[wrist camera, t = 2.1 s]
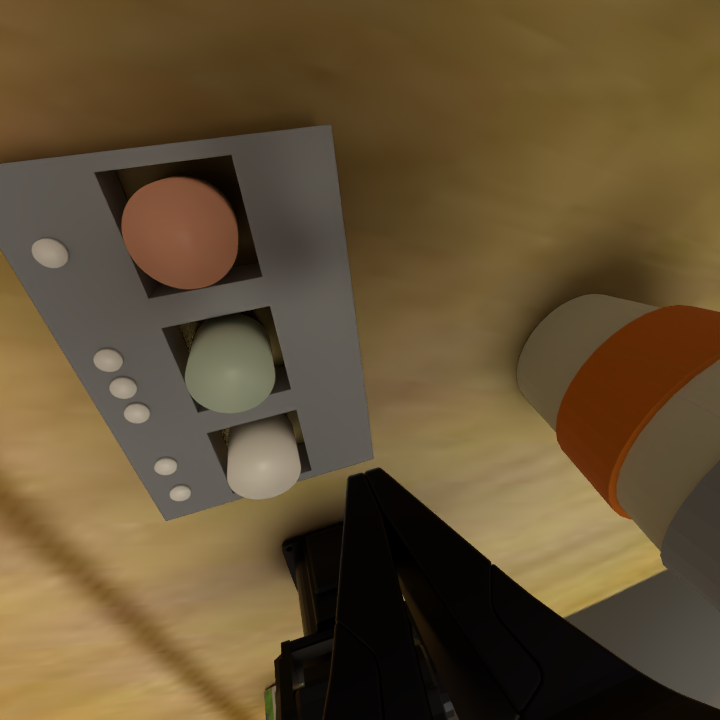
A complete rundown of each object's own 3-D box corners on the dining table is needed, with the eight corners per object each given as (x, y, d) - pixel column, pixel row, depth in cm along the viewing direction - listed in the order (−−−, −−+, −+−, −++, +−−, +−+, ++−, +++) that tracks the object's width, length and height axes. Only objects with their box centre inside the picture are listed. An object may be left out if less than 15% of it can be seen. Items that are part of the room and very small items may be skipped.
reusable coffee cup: (534, 448, 31) (741, 652, 18) (462, 361, 24) (711, 590, 11) (660, 346, 29) (986, 493, 16) (621, 223, 22) (1118, 311, 10)
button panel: (362, 432, 24) (374, 461, 22) (172, 486, 22) (165, 524, 20) (318, 128, 16) (332, 123, 13) (-3, 167, 13) (-53, 169, 11)
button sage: (277, 369, 19) (283, 401, 17) (206, 386, 19) (201, 422, 16) (260, 305, 17) (263, 330, 15) (181, 321, 17) (171, 351, 14)
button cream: (298, 449, 22) (306, 487, 20) (238, 466, 22) (238, 507, 19) (286, 402, 20) (293, 437, 18) (220, 419, 20) (217, 458, 17)
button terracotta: (248, 259, 16) (249, 278, 14) (162, 275, 16) (148, 298, 13) (223, 169, 14) (220, 172, 12) (125, 182, 14) (100, 188, 11)
